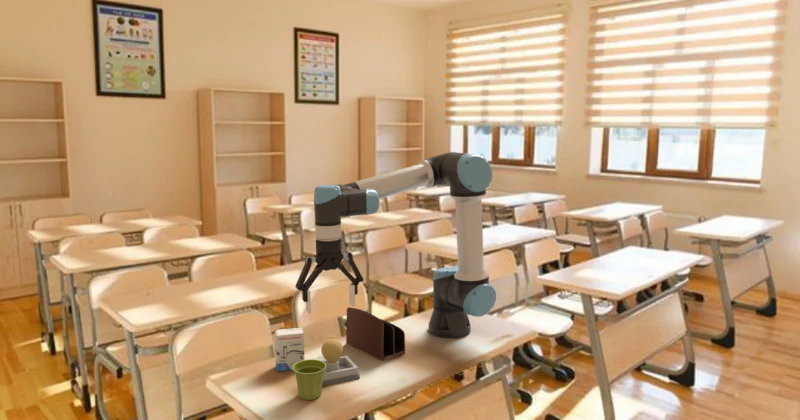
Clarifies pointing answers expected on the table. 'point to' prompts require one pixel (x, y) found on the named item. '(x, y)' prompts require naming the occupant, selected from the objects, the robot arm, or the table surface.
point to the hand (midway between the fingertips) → (330, 308)
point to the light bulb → (332, 354)
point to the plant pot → (309, 378)
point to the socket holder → (341, 372)
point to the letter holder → (373, 335)
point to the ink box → (289, 348)
